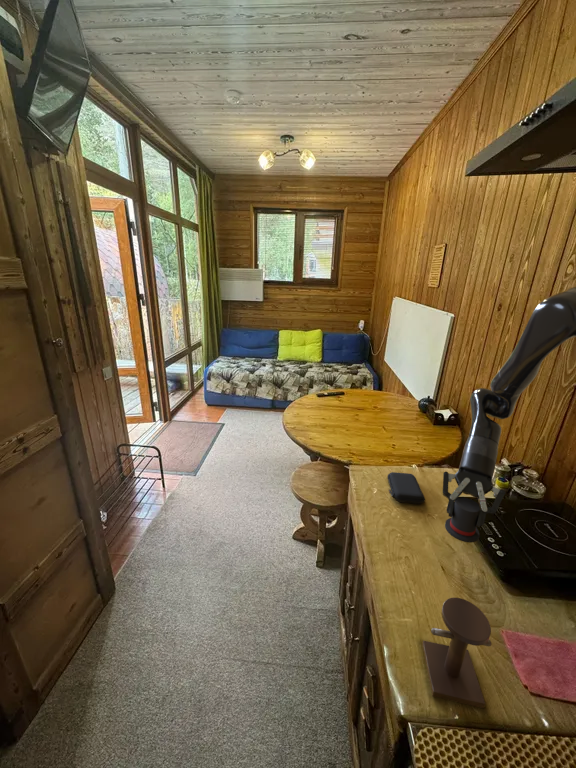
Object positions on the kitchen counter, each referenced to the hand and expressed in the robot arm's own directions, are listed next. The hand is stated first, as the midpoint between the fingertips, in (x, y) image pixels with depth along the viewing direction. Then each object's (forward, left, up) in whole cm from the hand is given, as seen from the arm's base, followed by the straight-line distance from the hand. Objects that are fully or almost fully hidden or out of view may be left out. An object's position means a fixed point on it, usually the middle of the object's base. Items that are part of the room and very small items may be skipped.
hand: (463, 521), depth 75 cm
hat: (0, -2, -4) cm, 5 cm away
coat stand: (-1, +28, -11) cm, 31 cm away
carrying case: (+17, -21, -12) cm, 29 cm away
